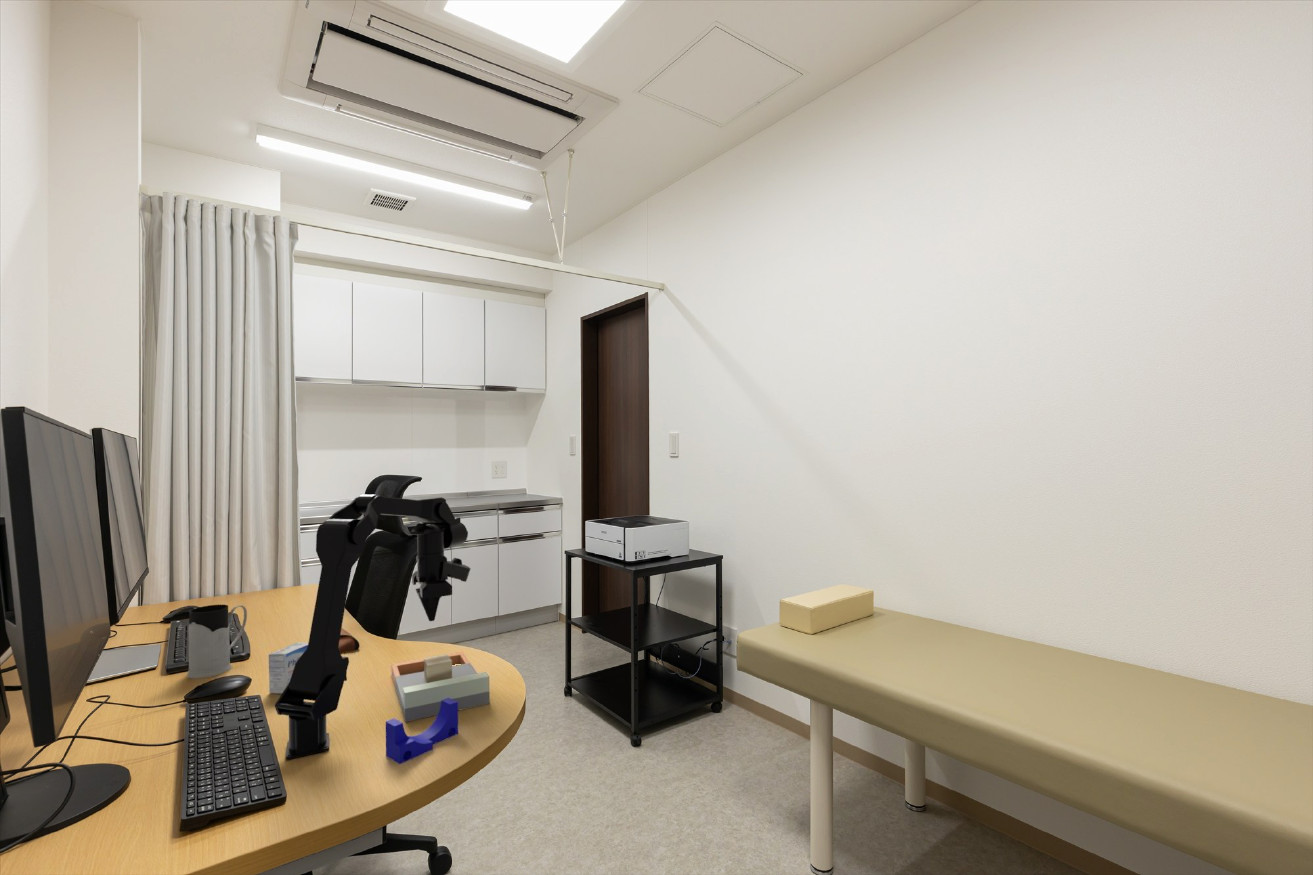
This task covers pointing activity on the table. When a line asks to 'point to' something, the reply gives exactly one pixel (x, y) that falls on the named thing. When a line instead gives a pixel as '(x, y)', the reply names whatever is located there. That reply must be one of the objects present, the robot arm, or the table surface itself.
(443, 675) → the birch block
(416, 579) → the robot arm
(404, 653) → the table surface
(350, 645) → the sunglasses case
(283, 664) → the medicine box
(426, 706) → the trap deck
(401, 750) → the blue cradle bracket
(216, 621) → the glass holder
